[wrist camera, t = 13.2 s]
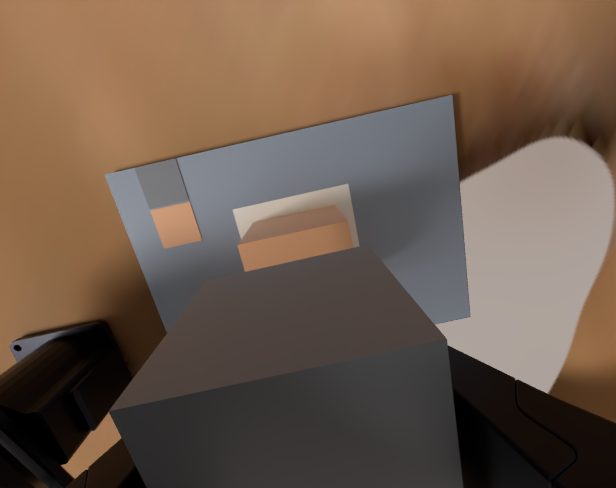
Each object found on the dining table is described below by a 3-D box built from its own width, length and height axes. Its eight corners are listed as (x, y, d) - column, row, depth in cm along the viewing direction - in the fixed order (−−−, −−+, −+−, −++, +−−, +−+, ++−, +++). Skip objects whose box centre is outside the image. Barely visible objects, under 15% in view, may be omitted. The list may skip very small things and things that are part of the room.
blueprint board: (187, 371, 22) (183, 377, 21) (110, 174, 18) (103, 174, 17) (465, 312, 21) (470, 317, 20) (447, 96, 17) (452, 94, 17)
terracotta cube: (273, 296, 20) (265, 341, 15) (253, 222, 18) (237, 245, 13) (349, 280, 19) (366, 320, 15) (334, 204, 18) (348, 220, 13)
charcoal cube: (250, 410, 11) (211, 619, 6) (206, 280, 9) (108, 411, 4) (391, 380, 10) (472, 568, 6) (367, 244, 9) (446, 339, 4)
